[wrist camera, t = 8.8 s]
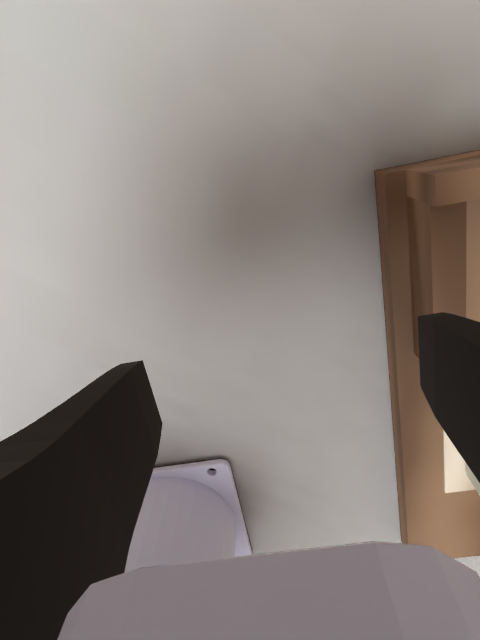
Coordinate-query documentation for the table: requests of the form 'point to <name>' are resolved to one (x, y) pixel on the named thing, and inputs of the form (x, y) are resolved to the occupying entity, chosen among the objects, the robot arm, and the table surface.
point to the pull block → (473, 480)
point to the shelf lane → (402, 336)
